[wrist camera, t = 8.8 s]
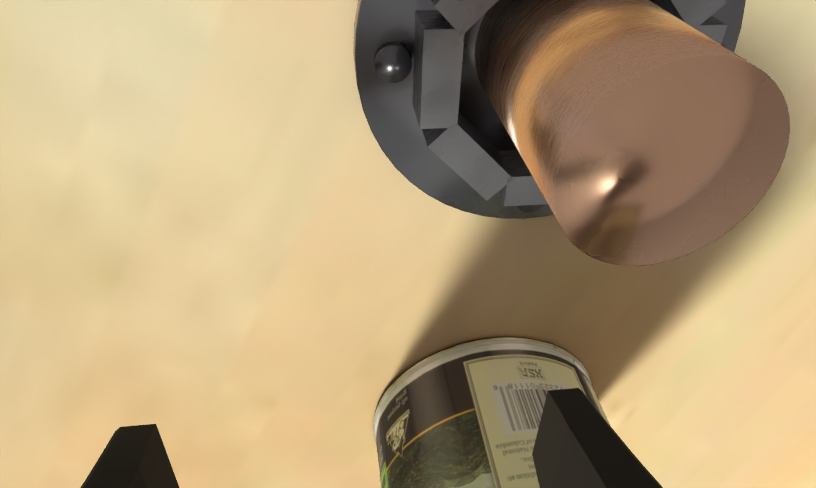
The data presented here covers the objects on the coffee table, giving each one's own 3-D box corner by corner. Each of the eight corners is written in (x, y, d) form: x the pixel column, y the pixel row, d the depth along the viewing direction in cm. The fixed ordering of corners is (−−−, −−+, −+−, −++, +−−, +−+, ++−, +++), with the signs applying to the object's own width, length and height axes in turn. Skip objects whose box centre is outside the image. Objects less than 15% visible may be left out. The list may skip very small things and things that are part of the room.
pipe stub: (476, 128, 18) (548, 279, 12) (472, -29, 15) (563, 75, 10) (619, 109, 18) (753, 249, 13) (641, -49, 15) (823, 40, 10)
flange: (358, 213, 20) (363, 257, 18) (346, -191, 14) (350, -188, 12) (667, 197, 21) (702, 237, 20) (793, -180, 15) (863, -176, 13)
